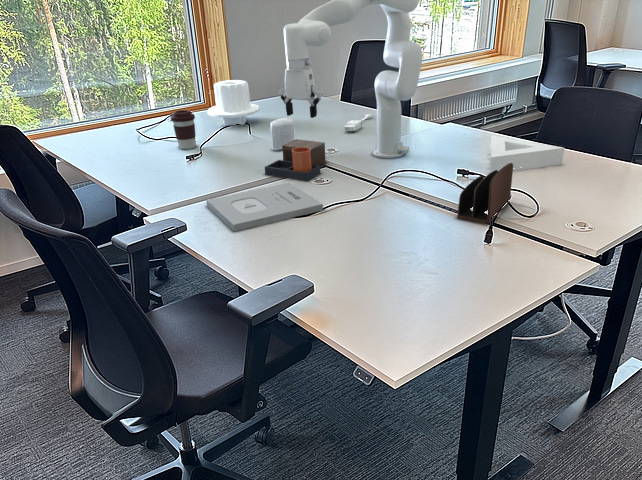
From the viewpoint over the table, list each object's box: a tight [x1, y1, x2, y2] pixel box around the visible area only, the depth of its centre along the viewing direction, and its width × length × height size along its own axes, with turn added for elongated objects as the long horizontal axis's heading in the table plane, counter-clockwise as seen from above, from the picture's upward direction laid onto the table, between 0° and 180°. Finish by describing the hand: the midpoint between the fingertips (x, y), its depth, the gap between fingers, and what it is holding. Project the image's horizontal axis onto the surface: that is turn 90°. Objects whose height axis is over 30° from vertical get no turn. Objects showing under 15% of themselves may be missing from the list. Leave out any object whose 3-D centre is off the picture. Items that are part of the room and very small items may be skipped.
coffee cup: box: [170, 109, 197, 150], centre depth 248 cm, size 10×10×15 cm
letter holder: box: [456, 163, 514, 225], centre depth 177 cm, size 10×20×14 cm, turn 148°
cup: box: [292, 147, 312, 173], centre depth 212 cm, size 7×7×9 cm
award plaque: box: [205, 182, 324, 232], centre depth 187 cm, size 25×30×2 cm
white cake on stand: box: [207, 79, 261, 127], centre depth 282 cm, size 25×25×19 cm
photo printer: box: [269, 117, 296, 151], centre depth 243 cm, size 10×4×12 cm, turn 123°
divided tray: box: [264, 159, 321, 182], centre depth 216 cm, size 18×10×3 cm, turn 61°
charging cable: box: [343, 113, 372, 132], centre depth 276 cm, size 5×32×3 cm, turn 160°
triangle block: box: [489, 134, 565, 174], centre depth 216 cm, size 30×26×6 cm
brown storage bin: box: [281, 138, 326, 167], centre depth 224 cm, size 13×10×8 cm
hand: (301, 115), depth 204 cm, fingers open, 9 cm apart
